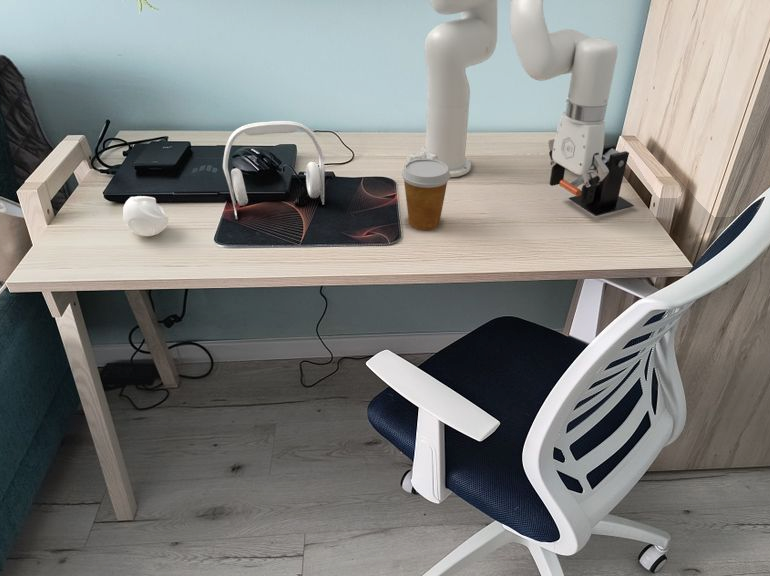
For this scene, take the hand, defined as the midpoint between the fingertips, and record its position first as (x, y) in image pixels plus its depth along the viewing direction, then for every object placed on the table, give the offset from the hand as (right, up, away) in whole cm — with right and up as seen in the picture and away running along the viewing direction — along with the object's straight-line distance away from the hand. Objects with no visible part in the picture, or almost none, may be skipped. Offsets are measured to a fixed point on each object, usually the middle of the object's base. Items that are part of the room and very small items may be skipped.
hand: (570, 193), depth 133 cm
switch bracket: (+8, -1, +8) cm, 11 cm away
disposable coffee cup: (-31, -7, -2) cm, 31 cm away
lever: (+5, +4, +1) cm, 6 cm away
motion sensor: (-83, -10, -10) cm, 84 cm away
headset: (-61, -3, +1) cm, 61 cm away
